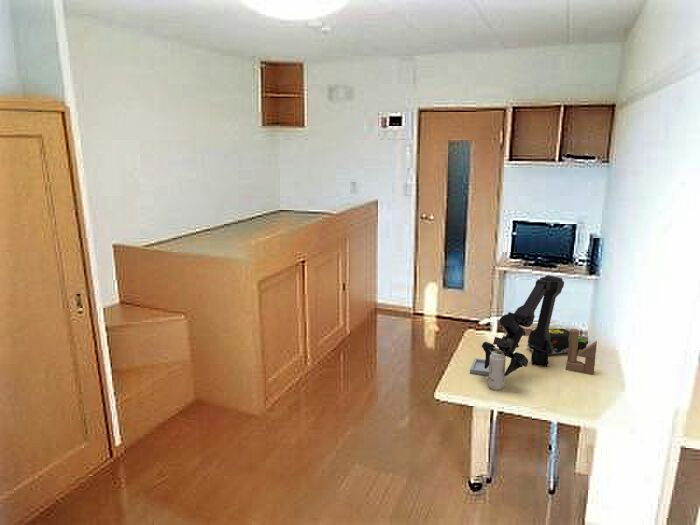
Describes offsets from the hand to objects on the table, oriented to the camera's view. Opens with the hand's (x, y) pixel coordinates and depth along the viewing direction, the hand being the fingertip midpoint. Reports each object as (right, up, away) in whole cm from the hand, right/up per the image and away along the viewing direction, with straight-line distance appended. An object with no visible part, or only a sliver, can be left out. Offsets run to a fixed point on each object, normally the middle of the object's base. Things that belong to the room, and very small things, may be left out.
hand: (494, 372), depth 204 cm
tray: (+1, -3, +18) cm, 19 cm away
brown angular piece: (+41, -3, +16) cm, 44 cm away
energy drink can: (+1, -7, +3) cm, 8 cm away
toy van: (+39, +2, +36) cm, 53 cm away
